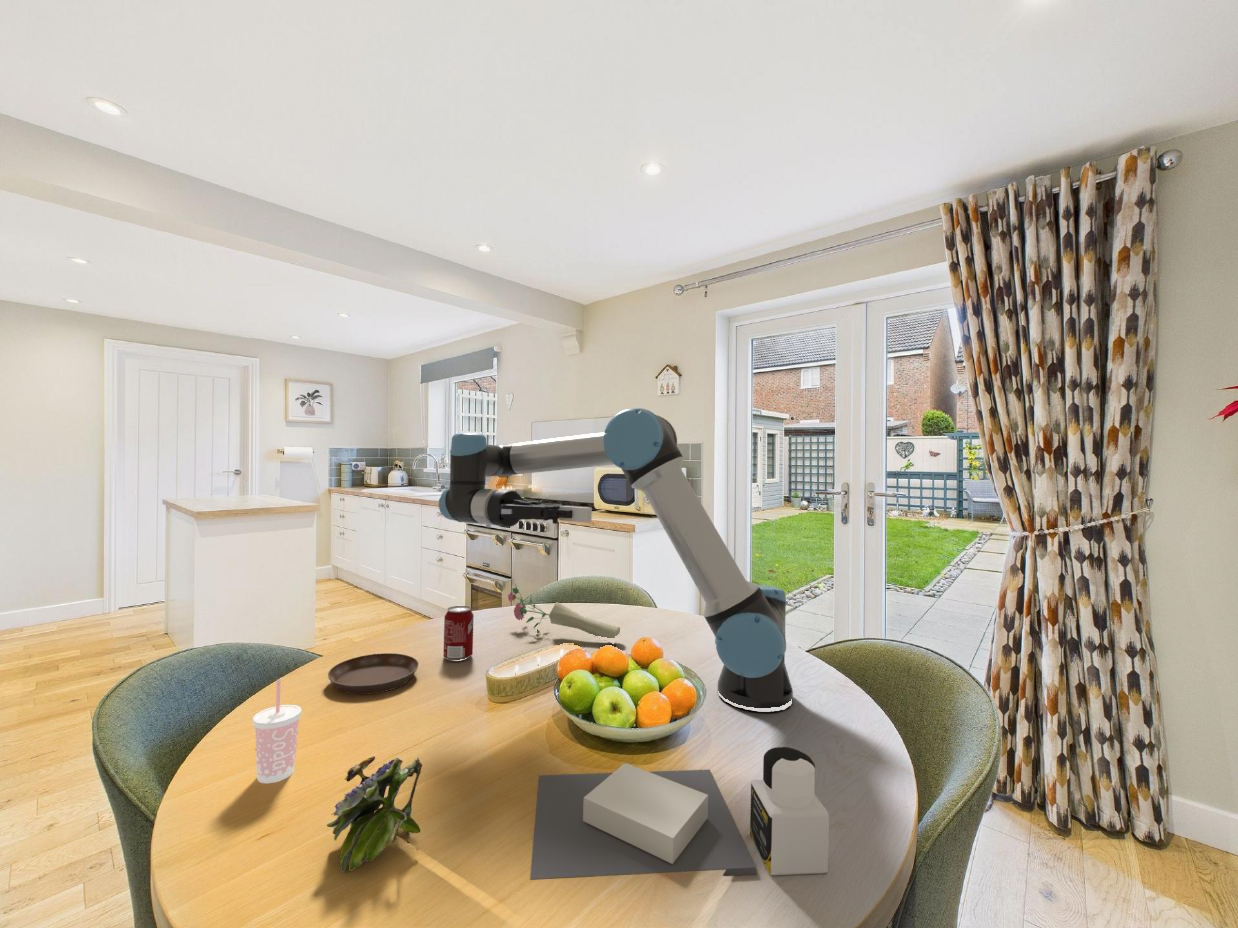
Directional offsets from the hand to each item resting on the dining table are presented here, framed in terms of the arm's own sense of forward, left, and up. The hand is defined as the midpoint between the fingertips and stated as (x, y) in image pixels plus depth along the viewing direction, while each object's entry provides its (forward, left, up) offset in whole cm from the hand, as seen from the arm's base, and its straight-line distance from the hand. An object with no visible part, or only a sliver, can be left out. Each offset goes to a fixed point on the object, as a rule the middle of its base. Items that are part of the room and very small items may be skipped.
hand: (589, 515), depth 98 cm
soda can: (+29, -34, -38) cm, 59 cm away
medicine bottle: (-24, +35, -38) cm, 57 cm away
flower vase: (+5, -50, -38) cm, 63 cm away
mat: (-6, +28, -38) cm, 48 cm away
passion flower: (+26, +29, -38) cm, 55 cm away
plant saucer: (+44, -21, -39) cm, 62 cm away
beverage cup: (+46, +14, -38) cm, 62 cm away
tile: (-2, +25, -36) cm, 44 cm away
